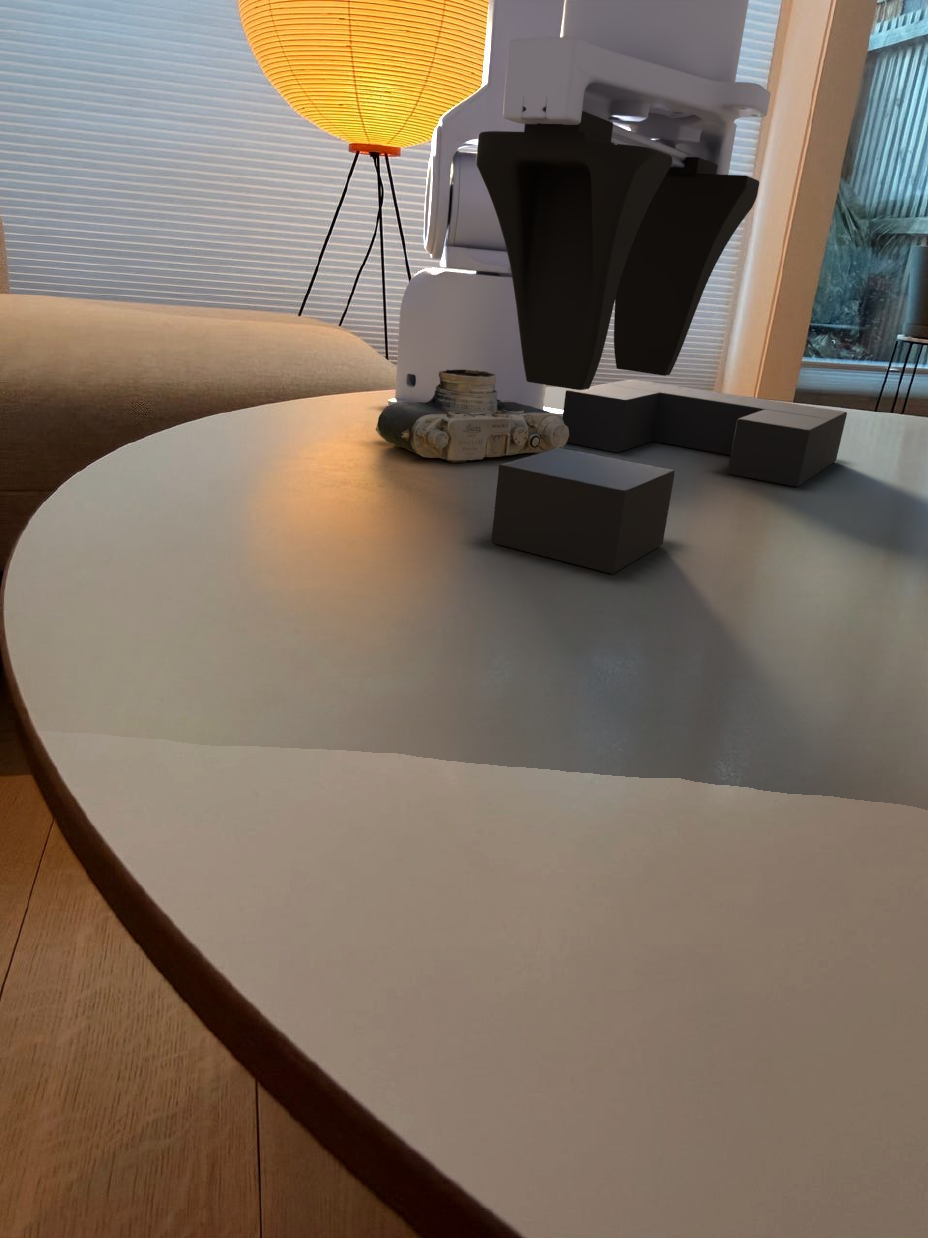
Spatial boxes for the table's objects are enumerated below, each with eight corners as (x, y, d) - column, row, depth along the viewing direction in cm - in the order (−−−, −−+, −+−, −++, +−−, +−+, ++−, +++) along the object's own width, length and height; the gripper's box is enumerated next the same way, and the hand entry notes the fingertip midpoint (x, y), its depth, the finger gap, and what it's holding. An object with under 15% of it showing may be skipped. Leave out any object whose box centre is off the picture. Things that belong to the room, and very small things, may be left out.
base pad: (559, 441, 55) (565, 390, 54) (624, 423, 64) (630, 378, 62) (797, 487, 49) (810, 430, 48) (836, 461, 57) (847, 411, 56)
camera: (577, 455, 52) (587, 378, 50) (416, 465, 46) (422, 379, 45) (523, 436, 56) (531, 364, 54) (369, 443, 50) (372, 363, 49)
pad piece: (490, 542, 35) (498, 464, 34) (550, 518, 39) (558, 447, 38) (612, 574, 33) (625, 491, 32) (663, 544, 37) (675, 470, 36)
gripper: (721, -196, 21) (631, 413, 26) (846, -16, 33) (767, 380, 38) (456, -156, 24) (421, 378, 29) (656, -6, 36) (606, 357, 41)
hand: (604, 378), depth 34 cm, fingers open, 7 cm apart
